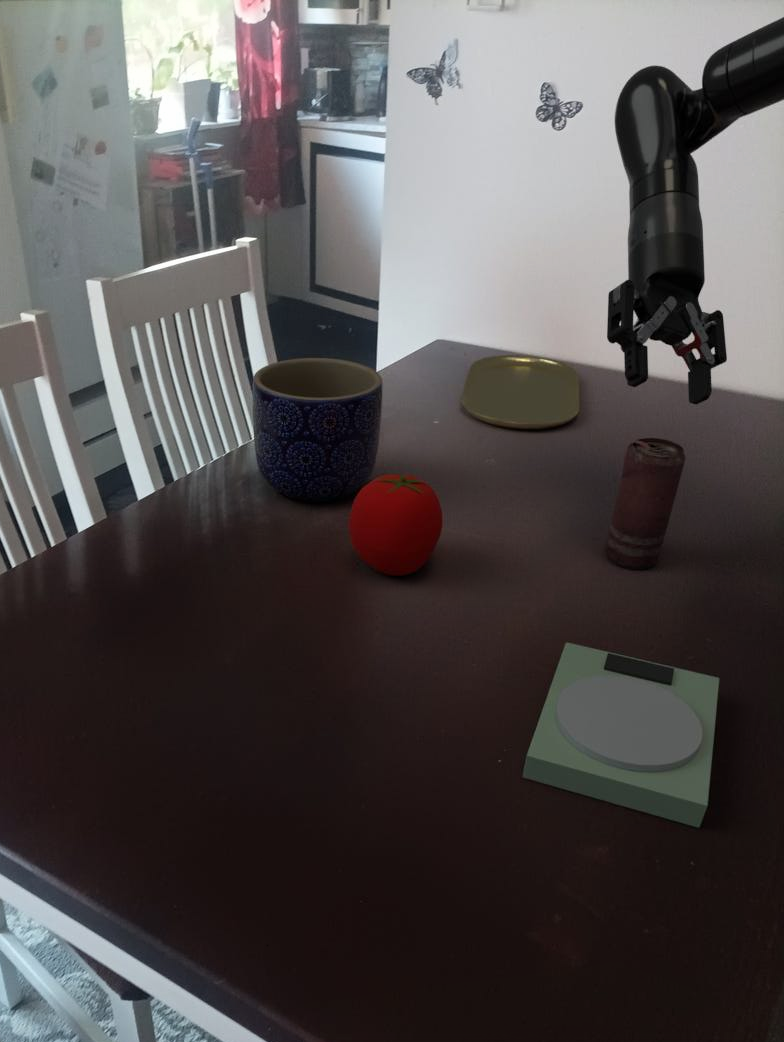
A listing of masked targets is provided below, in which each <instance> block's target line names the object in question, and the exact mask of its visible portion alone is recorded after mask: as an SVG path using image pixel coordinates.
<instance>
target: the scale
mask: <svg viewBox="0 0 784 1042" xmlns="http://www.w3.org/2000/svg"><path fill="white" fill-rule="evenodd" d="M719 687H720V678H719V677H718V676H717V677H716V676H712V675H708V674H704V673H700V672H696V671H692V670H687V669H683V668H678V667H674V666H669V665H666V664H662V663H661V664H660V663H657V662H653V661H648V660H645V659H640V658H636V657H631V656H627V655H623V654H618V653H615V652H610V651H605V650H601V649H597V648H593V647H588V646H583V645H580V644H576V643H571V642H567V641H566V642H565V644H564V647H563V650H562V653H561V655H560V659H559V661H558V665H557V667H556V670H555V672H554V675H553V679H552V682H551V685H550V687H549V690H548V693H547V696H546V699H545V702H544V705H543V707H542V710H541V713H540V715H539V716H540V717H539V719H538V721H537V725H536V728H535V731H534V733H533V736H532V739H531V742H530V745H529V748H528V751H527V753H526V757H525V763H524V766H523V771H522V778H523V779H526V780H530V781H533V782H537V783H540V784H544V785H547V786H550V787H555V788H558V789H562V790H565V791H567V792H572V793H575V794H579V795H582V796H585V797H589V798H593V799H597V800H599V801H602V802H607V803H610V804H614V805H618V806H620V807H624V808H628V809H632V810H635V811H639V812H641V813H646V814H649V815H652V816H656V817H659V818H663V819H666V820H669V821H673V822H677V823H680V824H684V825H687V826H690V827H694V828H696V829H700V828H701V825H702V822H703V820H704V816H705V814H706V811H707V809H708V807H709V806H708V805H709V796H710V795H709V794H710V784H711V773H712V763H713V752H714V742H715V732H716V731H715V730H716V729H715V728H716V720H717V711H718V709H717V708H718V697H719Z"/></svg>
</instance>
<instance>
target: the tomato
mask: <svg viewBox="0 0 784 1042" xmlns="http://www.w3.org/2000/svg"><path fill="white" fill-rule="evenodd" d="M431 481H433V480H424V479H423V480H422V479H420V478H418V477H416V476H414V475H408V474H402V473H399V474H395V473H394V474H393V473H392V474H384V475H382V476H379V477H377V478H374V479H373V480H372V481H370V482H368V483H367V484H365V485H363V486H362V487H361V488H360V490H359V492H358V493H357V495H356V496H355V497H354V500H353V503H352V505H351V508H350V510H351V511H350V514H349V523H348V524H349V525H348V528H349V529H348V530H349V536H350V541H351V544H352V547H353V549H354V551H355V553H356V554H357V556H358V557H359V559H361V560H362V561H363V562H365V563H366V564H367V565H368V566H369V567H371V568H372V569H374V570H375V571H377V572H379V573H382V574H385V575H389V576H398V577H400V576H401V577H402V576H406V575H410V574H412V573H414V572H416V571H418V570H419V569H420V568H422V567H423V566H424V565H425V563H426V562H427V561H428V560H429V559H430V557H431V556H432V554H433V553H434V551H435V549H436V547H437V544H438V541H439V539H440V538H441V534H442V529H443V510H442V505H441V502H440V499H439V497H438V496H437V494H436V492H435V490H434V489H433V487H432V486H431V485H429V483H427V482H431Z"/></svg>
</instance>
